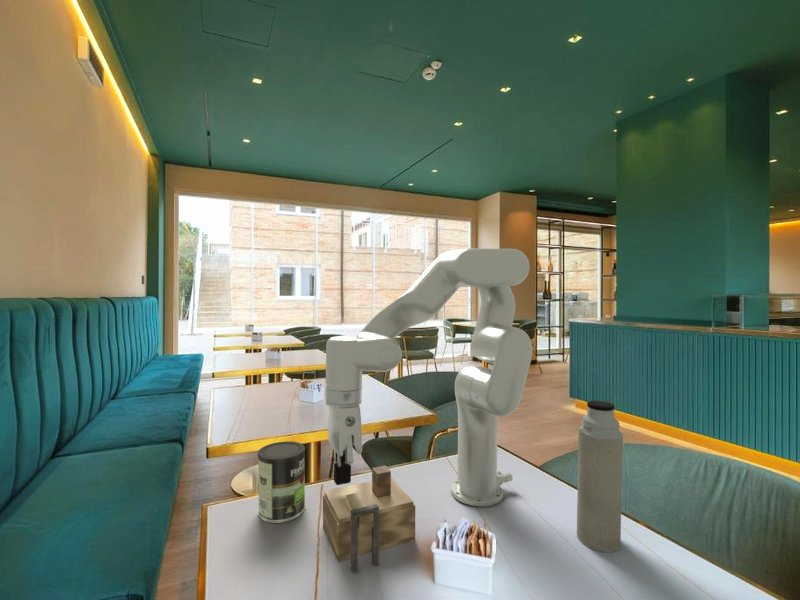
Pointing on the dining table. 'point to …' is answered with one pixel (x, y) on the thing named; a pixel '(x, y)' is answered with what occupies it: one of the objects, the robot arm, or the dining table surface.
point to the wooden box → (368, 532)
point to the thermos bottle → (599, 478)
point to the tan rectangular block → (354, 503)
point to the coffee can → (281, 481)
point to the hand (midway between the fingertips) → (342, 482)
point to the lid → (370, 495)
